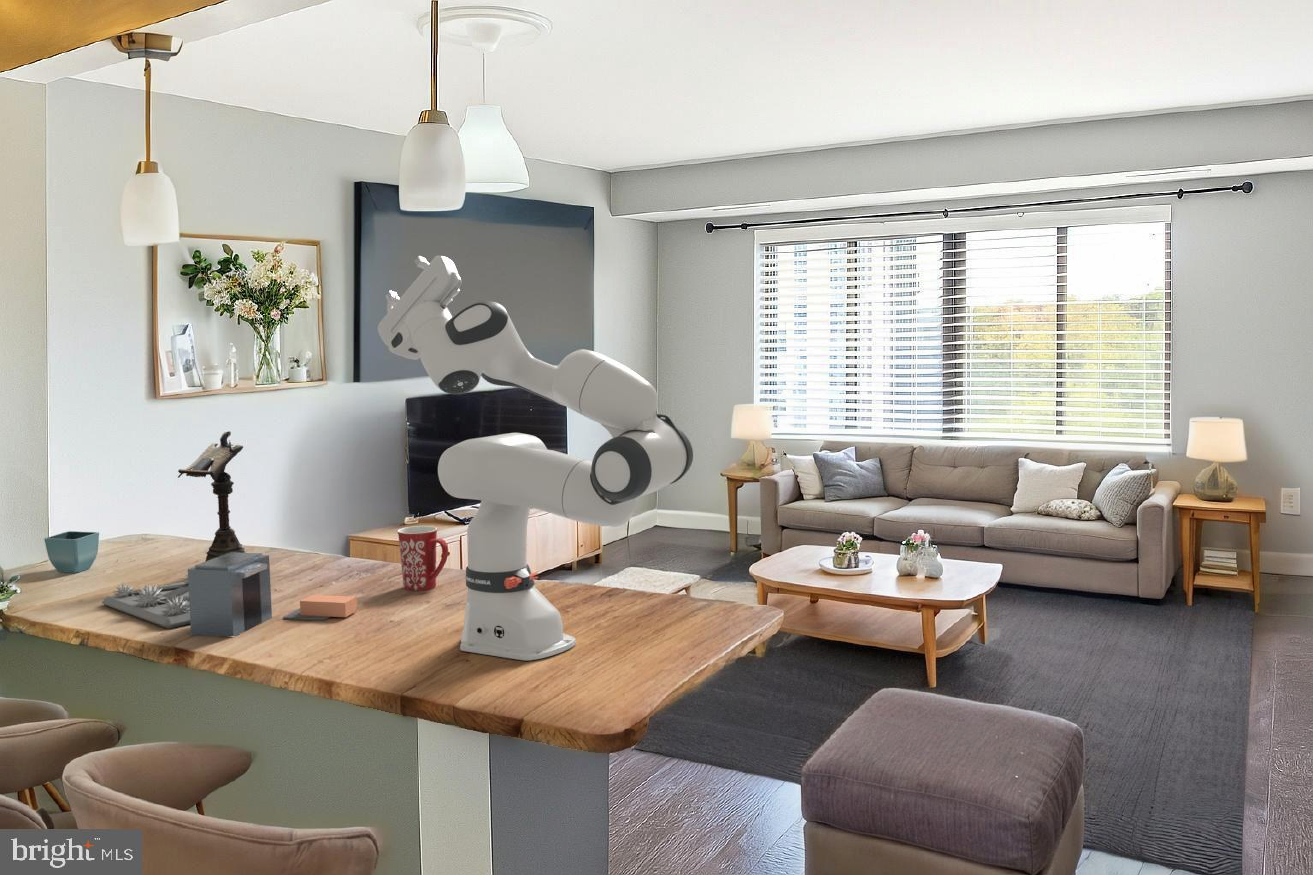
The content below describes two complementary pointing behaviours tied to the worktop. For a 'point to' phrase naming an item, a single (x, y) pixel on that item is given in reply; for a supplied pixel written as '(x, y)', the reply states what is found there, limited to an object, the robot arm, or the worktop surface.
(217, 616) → the dispenser
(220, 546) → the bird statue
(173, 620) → the spiky succulent planter
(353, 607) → the tall salmon pillar
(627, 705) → the worktop surface
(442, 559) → the mug
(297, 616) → the coaster
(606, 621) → the worktop surface
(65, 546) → the flower pot
